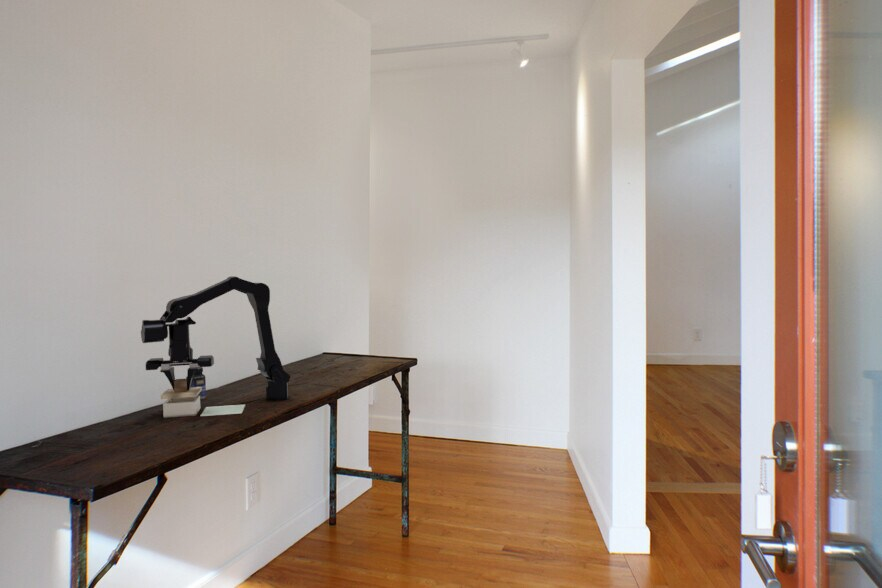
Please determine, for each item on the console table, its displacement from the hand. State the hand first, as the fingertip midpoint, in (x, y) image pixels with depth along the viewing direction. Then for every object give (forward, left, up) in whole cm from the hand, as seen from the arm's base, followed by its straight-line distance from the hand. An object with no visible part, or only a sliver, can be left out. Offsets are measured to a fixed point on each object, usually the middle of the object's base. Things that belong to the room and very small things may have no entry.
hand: (181, 390), depth 188 cm
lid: (0, 0, -1) cm, 1 cm away
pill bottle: (-1, -19, -8) cm, 20 cm away
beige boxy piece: (0, 0, -7) cm, 7 cm away
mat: (-12, 0, -7) cm, 14 cm away
